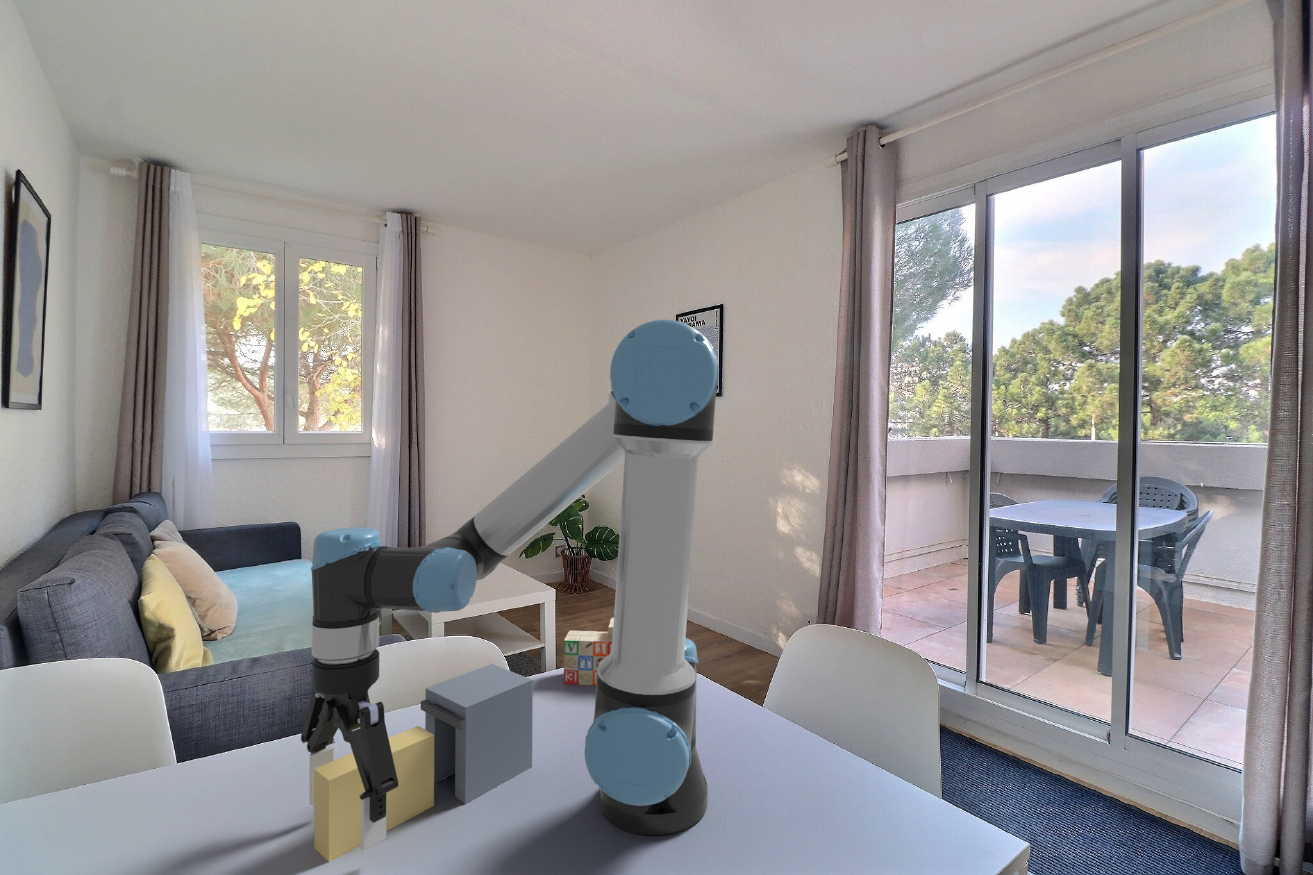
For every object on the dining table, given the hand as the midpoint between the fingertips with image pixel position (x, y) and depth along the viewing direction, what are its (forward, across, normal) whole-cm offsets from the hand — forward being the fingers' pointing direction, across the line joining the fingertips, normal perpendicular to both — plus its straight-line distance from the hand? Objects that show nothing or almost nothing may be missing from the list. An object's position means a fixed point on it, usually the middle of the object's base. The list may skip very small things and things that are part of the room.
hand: (346, 820), depth 77 cm
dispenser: (+3, 0, -20) cm, 20 cm away
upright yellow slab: (+3, 0, -4) cm, 5 cm away
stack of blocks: (+3, +6, -58) cm, 59 cm away
